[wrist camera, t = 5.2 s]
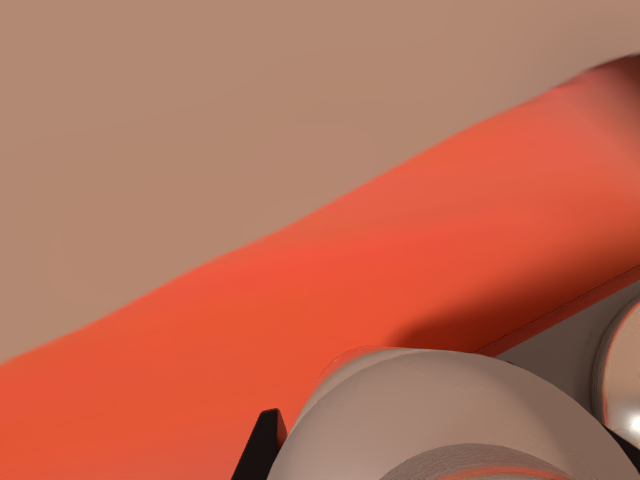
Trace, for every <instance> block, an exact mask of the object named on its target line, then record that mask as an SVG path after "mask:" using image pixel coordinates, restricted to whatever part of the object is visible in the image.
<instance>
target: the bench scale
mask: <svg viewBox="0 0 640 480" xmlns="http://www.w3.org/2000/svg"><path fill="white" fill-rule="evenodd" d="M472 354H479V355H483V356H487V357H491V358H494V359H498V360H502V361H510V362H512V363H513V364H515V365H516V366H518V367H520V368H522V369H525V370H527V371H529V372H531V373H533V374H535V375H537V376H538V377H540V378H542V379H544V380H546V381H547V382H549V383H551V384H553V385H554V386H556V387H557V388H558V389H560V390H561V391H562V392H564V393H565V394H567V395H568V396H569V397H571V398H572V399H574V400H575V401H576V402H577V403H579V404H580V405H581V406H582V407H583V408H584V409H585V410H586V411H587V412H589V413H590V414H591V415H592V416H593V417H594V418H595V419H596V420H597V421H599V422H600V423H602V424H603V425H605V426H606V427H608V428H609V429H611V430H612V431H613V432H615V433H616V434H618V435H619V436H621V437H622V438H624V439H625V440H627V441H628V442H630V443H631V444H633V445H634V446H636V447H637V448H639V449H640V265H638V266H636V267H634V268H632V269H630V270H628V271H627V272H625V273H623V274H621V275H619V276H617V277H615V278H613V279H612V280H610V281H608V282H606V283H604V284H602V285H600V286H598V287H596V288H595V289H593V290H591V291H589V292H587V293H585V294H583V295H581V296H579V297H578V298H576V299H574V300H572V301H570V302H568V303H566V304H564V305H562V306H561V307H559V308H557V309H555V310H553V311H551V312H549V313H547V314H545V315H544V316H542V317H540V318H538V319H536V320H534V321H532V322H530V323H528V324H527V325H525V326H523V327H521V328H519V329H517V330H515V331H513V332H512V333H510V334H508V335H506V336H504V337H502V338H500V339H498V340H496V341H495V342H493V343H491V344H489V345H487V346H485V347H483V348H481V349H479V350H478V351H476V352H474V353H472Z"/></svg>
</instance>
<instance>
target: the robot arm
mask: <svg viewBox="0 0 640 480" xmlns="http://www.w3.org/2000/svg"><path fill="white" fill-rule="evenodd" d="M505 362H507V363H510V364H512V365H515V364H513V363H512V362H510V361H505ZM515 366H516V365H515ZM517 367H518V366H517ZM598 422H599V421H598ZM599 423H600V422H599ZM600 424H601V425H602V426H603V427H604V428H605V430H606V431H607V432H608V433H609V434H610V435H611V436H612V437H613V438H614V440H615V441H616V442H617V443H618V444H619V446H620V447H621V448H622V450H623V451H624V453H625V454H626V455H627V457H628V458H629V460H630V461H631V462H632V464H633V465H634V467H635V468H636V469H637V471H638V473H639V475H640V449H639V448H637V447H636V446H634V445H633V444H631V443H630V442H628V441H627V440H625V439H624V438H622V437H621V436H619V435H618V434H616V433H615V432H613V431H612V430H611V429H609V428H608V427H606V426H605V425H603V424H602V423H600ZM287 437H288V436H287V431H286V427H285V424H284V422H283V419H282V416H281V413H280V411H279V409H277V408H274V409H269V410H265V411H262V412H261V413H260V415H259V417H258V420H257V422H256V424H255V426H254V429H253V431H252V433H251V435H250V438H249V440H248V442H247V444H246V447H245V449H244V451H243V453H242V456H241V458H240V460H239V462H238V465H237V467H236V469H235V471H234V473H233V476H232V478H231V480H267V478H268V475H269V473H270V470H271V468H272V465H273V463H274V461H275V459H276V457H277V456H278V454H279V452H280V450H281V448H282V446H283V444H284V442H285V441H286V439H287Z"/></svg>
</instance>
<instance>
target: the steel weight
mask: <svg viewBox="0 0 640 480" xmlns="http://www.w3.org/2000/svg"><path fill="white" fill-rule="evenodd" d="M267 480H640V475H639V473H638V471H637V469H636V468H635V467H634V465H633V464H632V462H631V461H630V460H629V458H628V457H627V455H626V454H625V453H624V451H623V450H622V448H621V447H620V446H619V444H618V443H617V442H616V441H615V440H614V438H613V437H612V436H611V435H610V434H609V433H608V432H607V431H606V430H605V428H604V427H603V426H602V425H601V424H600V423H599V422H598V421H597V420H596V419H595V418H594V417H593V416H592V415H591V414H590V413H589V412H587V411H586V410H585V409H584V408H583V407H582V406H581V405H580V404H579V403H577V402H576V401H575V400H574V399H572V398H571V397H569V396H568V395H567V394H565V393H564V392H562V391H561V390H560V389H558V388H557V387H556V386H554V385H553V384H551V383H549V382H547V381H546V380H544V379H542V378H540V377H538V376H537V375H535V374H533V373H531V372H529V371H527V370H525V369H522V368H520V367H517V366H515V365H512V364H510V363H507V362H505V361H502V360H498V359H494V358H491V357H487V356H483V355H479V354H472V353H465V352H457V351H446V350H432V349H417V348H403V347H389V346H361V347H357V348H353V349H351V350H348V351H346V352H344V353H342V354H341V355H339V356H338V357H336V358H335V359H334V360H333V361H331V362H330V364H329V365H328V366H327V367H326V368H325V369H324V371H323V372H322V373H321V375H320V377H319V379H318V381H317V382H316V384H315V386H314V388H313V390H312V392H311V394H310V396H309V397H308V399H307V401H306V403H305V405H304V407H303V409H302V411H301V412H300V414H299V416H298V418H297V420H296V422H295V424H294V426H293V427H292V429H291V431H290V433H289V435H288V437H287V439H286V441H285V442H284V444H283V446H282V448H281V450H280V452H279V454H278V456H277V457H276V459H275V461H274V463H273V465H272V468H271V470H270V473H269V475H268V478H267Z"/></svg>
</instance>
